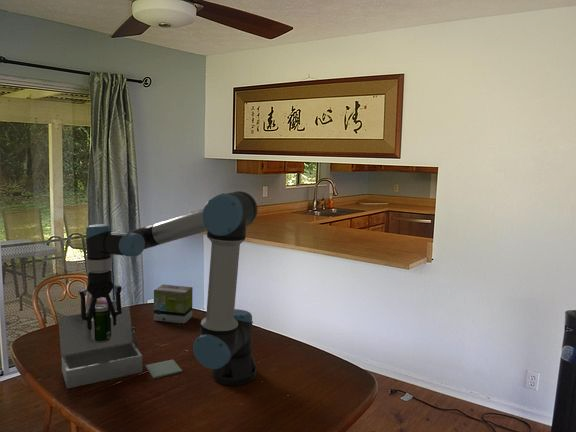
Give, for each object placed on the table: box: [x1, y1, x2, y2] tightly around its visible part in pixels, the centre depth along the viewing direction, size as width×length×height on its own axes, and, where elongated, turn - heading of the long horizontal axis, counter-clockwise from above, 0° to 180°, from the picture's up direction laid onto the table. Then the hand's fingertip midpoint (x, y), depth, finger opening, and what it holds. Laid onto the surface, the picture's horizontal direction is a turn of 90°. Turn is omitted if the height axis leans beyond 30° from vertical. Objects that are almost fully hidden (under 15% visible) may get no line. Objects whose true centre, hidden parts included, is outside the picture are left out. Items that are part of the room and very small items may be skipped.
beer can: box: [93, 304, 111, 343], centre depth 159 cm, size 5×5×12 cm
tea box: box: [153, 283, 194, 325], centre depth 214 cm, size 15×10×15 cm
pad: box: [145, 359, 183, 380], centre depth 165 cm, size 10×10×1 cm
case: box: [58, 306, 143, 389], centre depth 163 cm, size 18×25×18 cm
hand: (102, 336), depth 160 cm, fingers closed on beer can, 5 cm apart
